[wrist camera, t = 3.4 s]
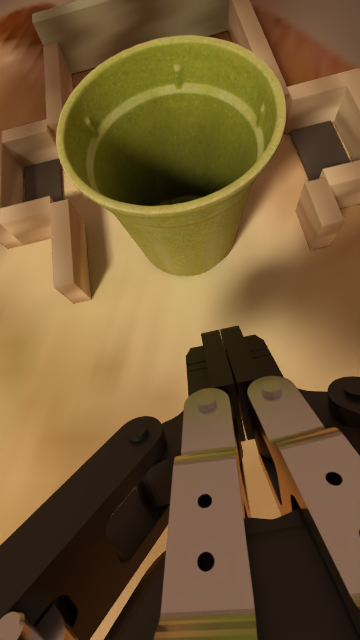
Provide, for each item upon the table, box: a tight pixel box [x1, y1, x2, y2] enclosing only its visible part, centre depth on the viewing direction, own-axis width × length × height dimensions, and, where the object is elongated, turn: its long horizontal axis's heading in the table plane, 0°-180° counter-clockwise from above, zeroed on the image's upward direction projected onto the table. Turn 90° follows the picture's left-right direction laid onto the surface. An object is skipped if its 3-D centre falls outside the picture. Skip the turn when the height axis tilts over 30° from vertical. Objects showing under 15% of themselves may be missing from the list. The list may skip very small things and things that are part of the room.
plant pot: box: [56, 35, 286, 276], centre depth 17 cm, size 9×9×9 cm
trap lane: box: [0, 0, 360, 304], centre depth 22 cm, size 26×23×4 cm
